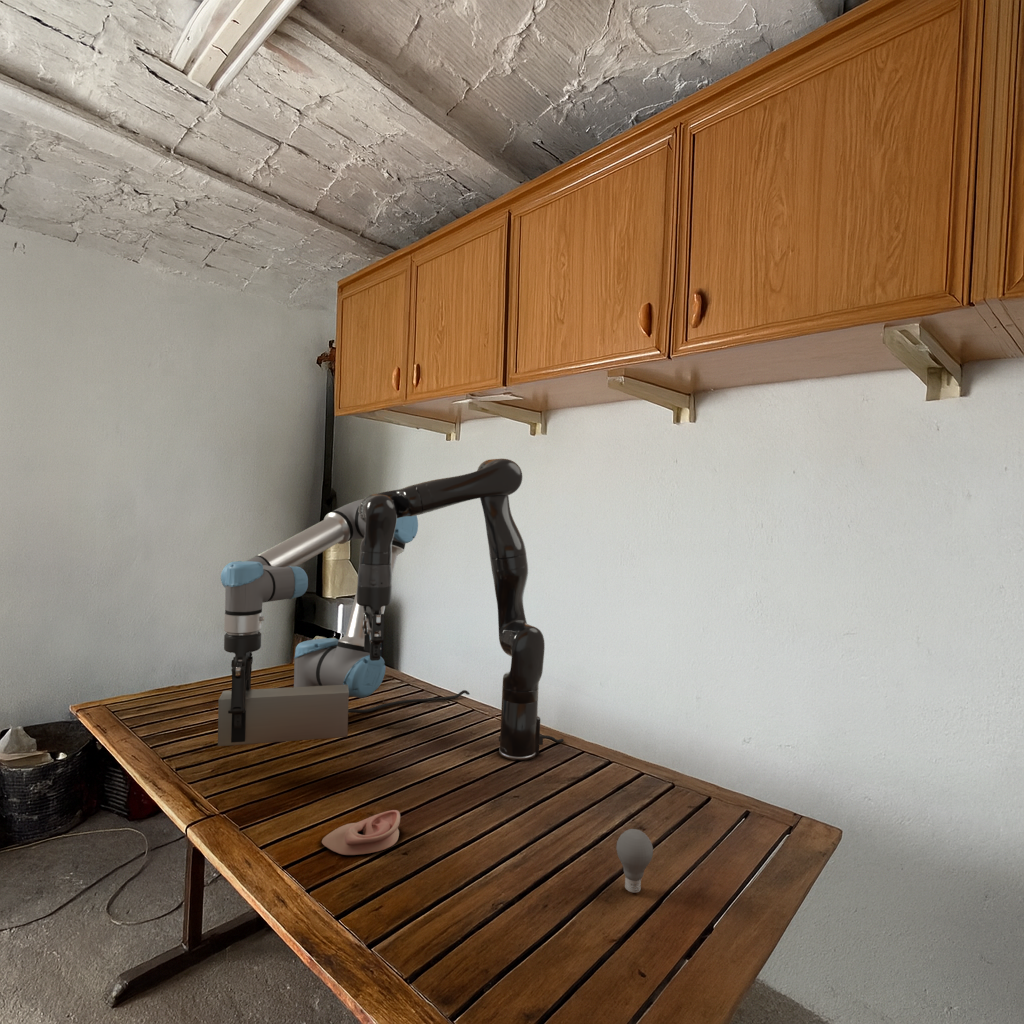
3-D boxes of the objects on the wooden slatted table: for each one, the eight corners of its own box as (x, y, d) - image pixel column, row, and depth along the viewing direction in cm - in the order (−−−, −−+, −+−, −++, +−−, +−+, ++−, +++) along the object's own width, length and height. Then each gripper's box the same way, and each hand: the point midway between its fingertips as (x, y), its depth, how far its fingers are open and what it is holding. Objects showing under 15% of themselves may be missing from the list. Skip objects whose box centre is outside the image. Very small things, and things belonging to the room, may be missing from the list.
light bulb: (610, 879, 108) (613, 822, 108) (644, 879, 109) (647, 822, 109) (619, 902, 102) (622, 840, 102) (655, 901, 103) (658, 840, 103)
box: (217, 746, 136) (218, 699, 136) (222, 735, 142) (223, 690, 142) (347, 736, 144) (348, 692, 144) (347, 727, 150) (348, 684, 149)
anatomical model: (313, 828, 113) (343, 799, 125) (313, 850, 113) (342, 819, 125) (383, 839, 111) (407, 808, 122) (382, 862, 111) (406, 829, 122)
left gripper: (256, 641, 132) (253, 751, 132) (265, 622, 150) (262, 719, 151) (217, 642, 129) (214, 754, 130) (231, 623, 148) (228, 721, 149)
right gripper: (397, 587, 137) (394, 662, 137) (385, 579, 150) (383, 647, 150) (362, 588, 134) (359, 664, 134) (353, 579, 147) (350, 648, 147)
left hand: (240, 735), depth 140 cm, fingers closed on box, 6 cm apart
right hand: (371, 655), depth 142 cm, fingers open, 8 cm apart
